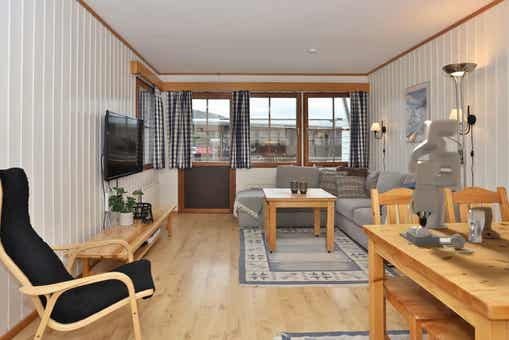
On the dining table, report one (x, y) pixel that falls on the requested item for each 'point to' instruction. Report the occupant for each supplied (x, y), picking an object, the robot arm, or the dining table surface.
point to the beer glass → (476, 225)
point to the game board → (429, 239)
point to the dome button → (422, 231)
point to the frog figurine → (457, 241)
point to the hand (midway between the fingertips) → (422, 225)
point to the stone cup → (487, 223)
